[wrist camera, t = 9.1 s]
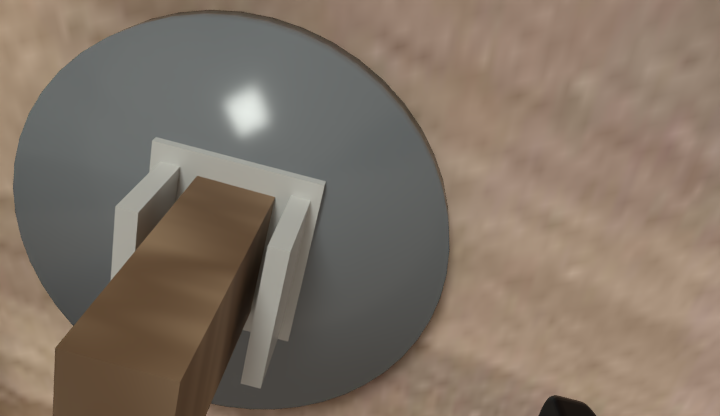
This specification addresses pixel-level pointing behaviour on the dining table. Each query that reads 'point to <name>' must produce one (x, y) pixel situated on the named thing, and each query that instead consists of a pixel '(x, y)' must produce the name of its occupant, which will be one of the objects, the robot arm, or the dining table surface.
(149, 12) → the dining table surface
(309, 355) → the grey flat bracketed disc
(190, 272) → the brown wooden block
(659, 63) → the dining table surface
